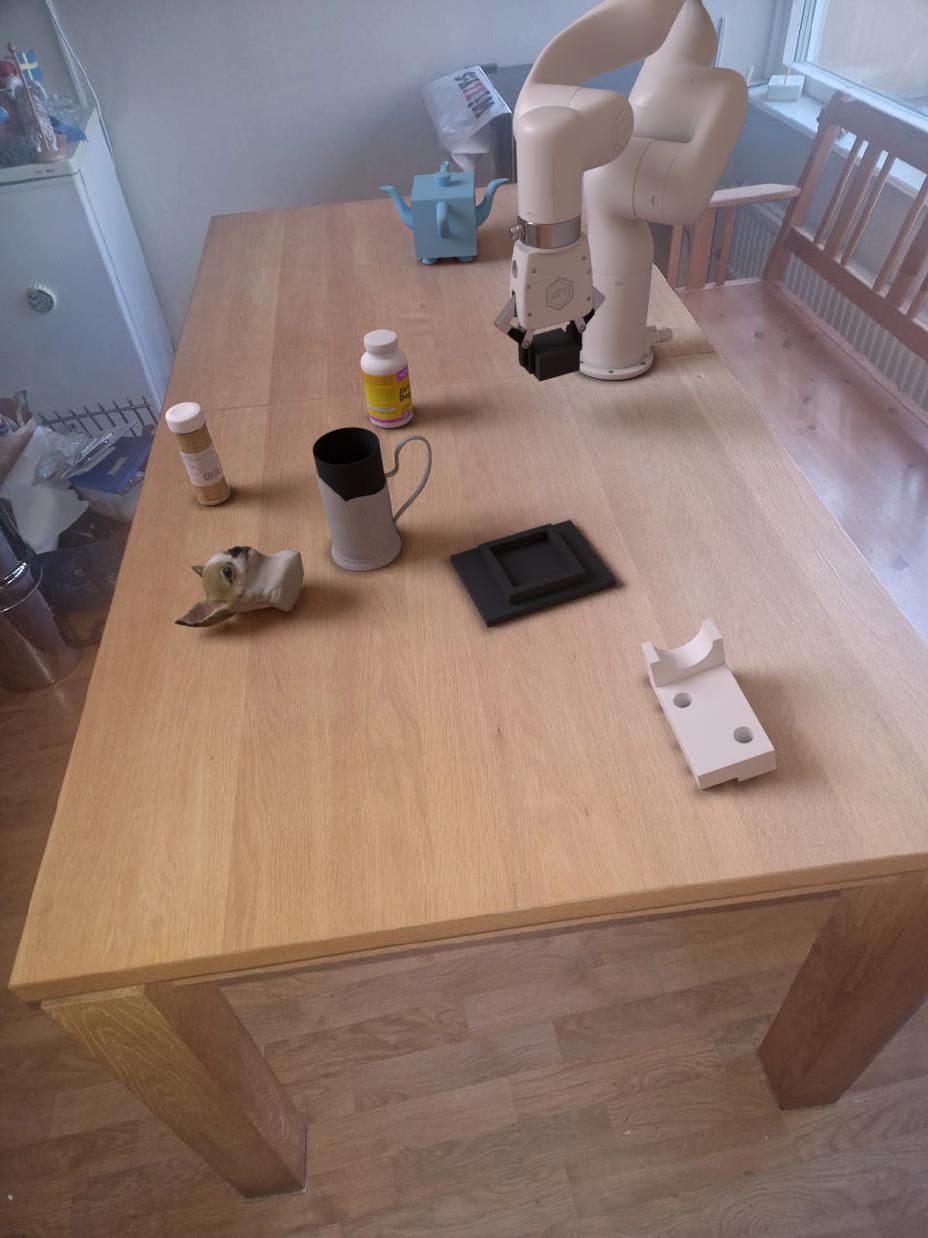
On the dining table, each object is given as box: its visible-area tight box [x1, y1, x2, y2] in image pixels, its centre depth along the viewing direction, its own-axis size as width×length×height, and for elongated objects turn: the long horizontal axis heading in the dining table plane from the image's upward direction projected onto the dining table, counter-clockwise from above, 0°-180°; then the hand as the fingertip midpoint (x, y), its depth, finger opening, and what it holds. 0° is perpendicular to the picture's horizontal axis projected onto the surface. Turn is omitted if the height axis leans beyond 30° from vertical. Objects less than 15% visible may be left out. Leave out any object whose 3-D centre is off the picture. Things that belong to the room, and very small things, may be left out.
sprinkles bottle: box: [164, 401, 231, 506], centre depth 104 cm, size 5×5×13 cm
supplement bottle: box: [360, 328, 414, 429], centre depth 115 cm, size 7×7×13 cm
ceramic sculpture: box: [173, 545, 305, 628], centre depth 91 cm, size 11×9×15 cm
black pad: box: [531, 327, 580, 383], centre depth 109 cm, size 6×6×4 cm
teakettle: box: [378, 160, 509, 265], centre depth 157 cm, size 19×19×15 cm
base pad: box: [449, 519, 617, 628], centre depth 94 cm, size 16×12×2 cm
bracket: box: [640, 618, 777, 791], centre depth 75 cm, size 13×7×8 cm, turn 11°
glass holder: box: [312, 426, 433, 572], centre depth 95 cm, size 9×14×15 cm, turn 113°
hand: (550, 361), depth 110 cm, fingers closed on black pad, 6 cm apart
